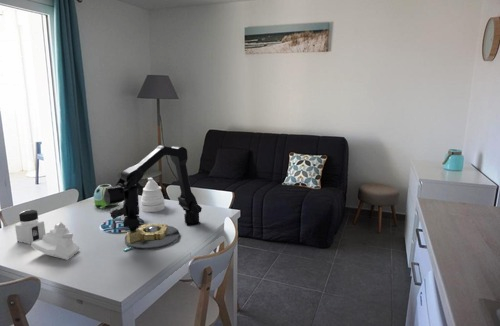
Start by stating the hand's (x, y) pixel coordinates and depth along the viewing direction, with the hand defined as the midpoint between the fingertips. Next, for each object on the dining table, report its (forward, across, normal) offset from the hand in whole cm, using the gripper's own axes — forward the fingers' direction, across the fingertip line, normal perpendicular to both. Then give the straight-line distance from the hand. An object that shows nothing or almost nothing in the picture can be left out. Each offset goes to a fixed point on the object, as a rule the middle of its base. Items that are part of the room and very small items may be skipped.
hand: (132, 234), depth 141 cm
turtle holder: (+6, -56, -14) cm, 58 cm away
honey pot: (+5, -43, +11) cm, 45 cm away
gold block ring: (+2, 0, +7) cm, 7 cm away
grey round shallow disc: (+3, -1, +8) cm, 9 cm away
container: (+5, -17, -42) cm, 45 cm away
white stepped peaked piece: (+4, +3, -28) cm, 28 cm away
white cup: (+4, -29, -2) cm, 30 cm away
